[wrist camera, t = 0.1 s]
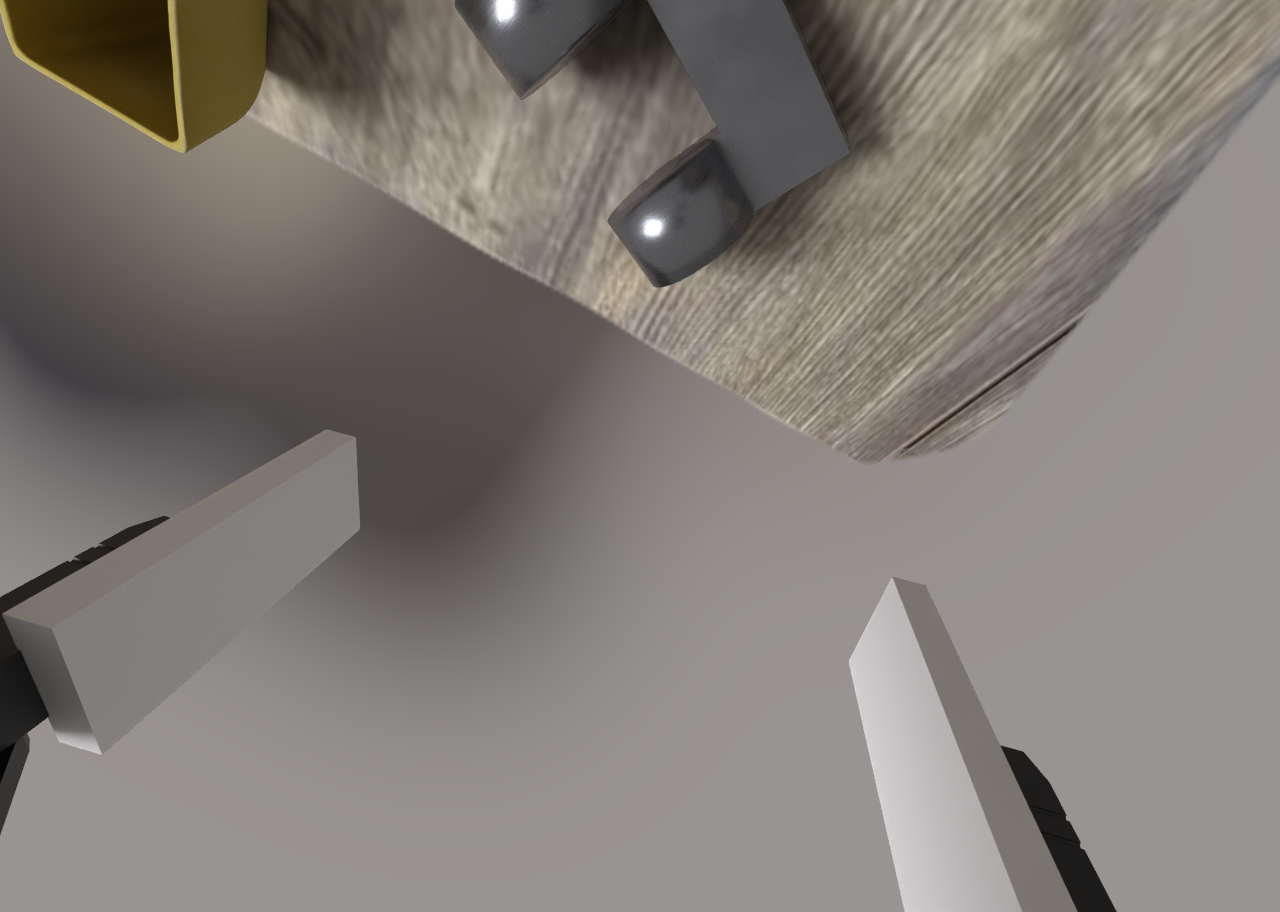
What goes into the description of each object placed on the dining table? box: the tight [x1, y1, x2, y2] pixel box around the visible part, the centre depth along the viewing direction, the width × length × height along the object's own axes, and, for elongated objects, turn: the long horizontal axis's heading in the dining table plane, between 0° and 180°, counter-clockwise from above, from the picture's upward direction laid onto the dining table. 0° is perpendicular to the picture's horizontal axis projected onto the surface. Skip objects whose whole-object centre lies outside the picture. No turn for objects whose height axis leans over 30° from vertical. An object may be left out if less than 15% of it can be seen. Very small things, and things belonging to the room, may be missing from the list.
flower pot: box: [0, 0, 268, 153], centre depth 29 cm, size 9×9×9 cm
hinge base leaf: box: [455, 0, 850, 287], centre depth 27 cm, size 12×16×7 cm
